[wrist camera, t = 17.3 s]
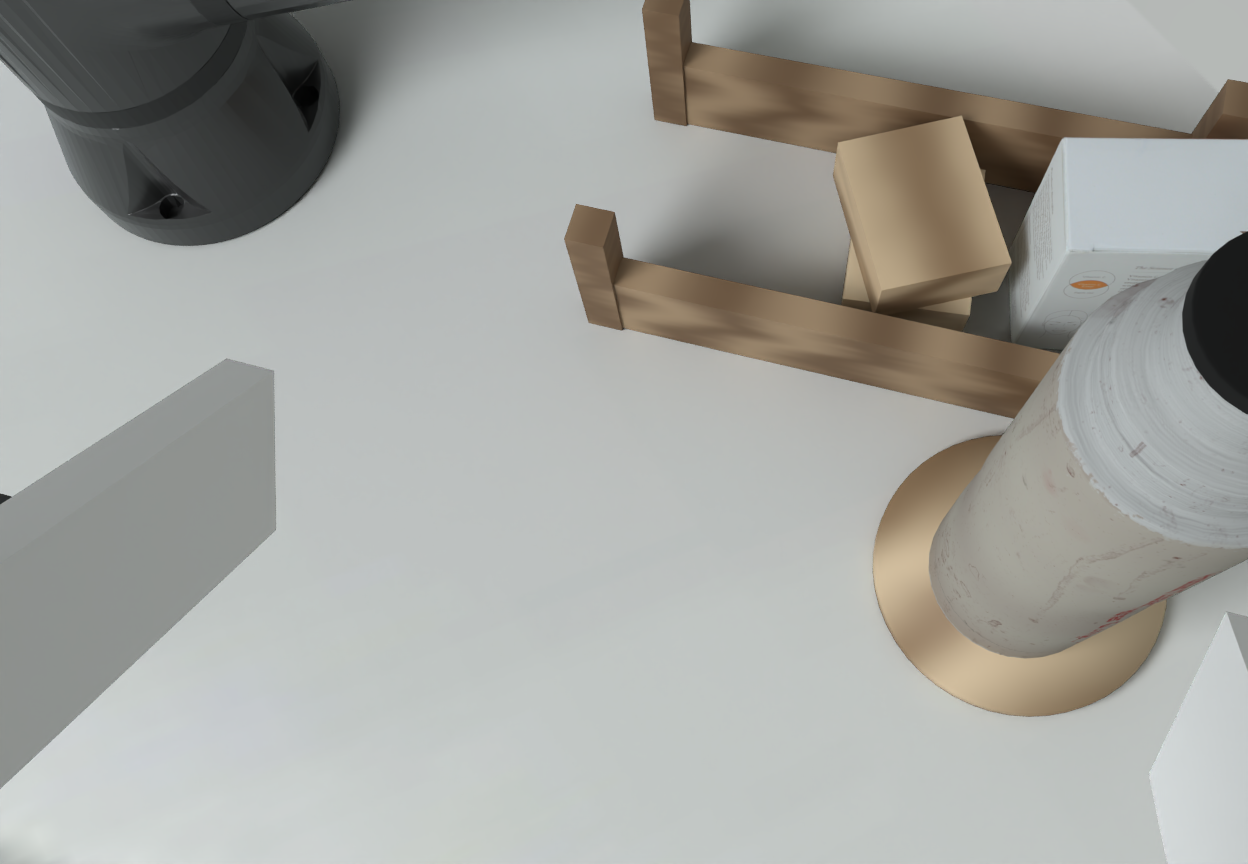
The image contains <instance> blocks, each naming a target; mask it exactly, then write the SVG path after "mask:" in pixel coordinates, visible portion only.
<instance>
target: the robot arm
mask: <svg viewBox="0 0 1248 864" xmlns="http://www.w3.org/2000/svg"><path fill="white" fill-rule="evenodd" d="M346 1H351V0H0V60H1V61H2V62H3V63H4V64H5V65H6V66H7V67H8V68H9V69H10V70H11V71H12V72H13V73H14V74H15V75H16V76H17V77H18V79H19V80H20V81H21V82H22V83H23V84H24V85H25V86H26V87H28V88H29V89H30V90H31V91H32V92H33V93H34V94H35V95H36V96H37V98H38V99H39V100H40V101H41V102H42V103H43V104H44V106H45V108H46V111H47V113H48V116H49V119H50V121H51V124H52V126H53V129H54V131H55V134H56V137H57V139H58V142H59V144H60V147H61V149H62V152H63V155H64V157H65V160H66V162H67V165H68V167H69V169H70V171H71V173H72V175H73V177H74V178H75V180H76V181H77V183H78V184H79V186H80V187H81V189H82V190H83V191H84V193H85V194H86V195H87V196H88V197H89V198H90V199H91V200H92V201H93V202H94V203H95V204H96V205H97V206H98V207H99V208H100V209H101V210H102V211H103V212H104V213H105V214H106V215H107V216H108V217H109V218H111V219H112V220H113V221H114V222H115V223H117V224H118V225H119V226H121V227H122V228H124V229H125V230H127V231H129V232H131V233H133V234H135V235H137V236H139V237H142V238H144V239H147V240H150V241H154V242H158V243H163V244H169V245H181V246H195V245H206V244H212V243H217V242H222V241H226V240H229V239H233V238H236V237H239V236H241V235H244V234H247V233H249V232H251V231H253V230H255V229H257V228H259V227H261V226H263V225H265V224H267V223H268V222H270V221H272V220H273V219H275V218H276V217H278V216H279V215H280V214H282V213H283V212H284V211H286V210H287V209H288V208H289V207H291V206H292V205H293V204H294V203H295V202H296V201H297V200H298V199H299V198H300V197H301V196H302V195H303V194H304V193H305V192H306V191H307V190H308V188H309V187H310V186H311V185H312V184H313V182H314V181H315V180H316V178H317V177H318V175H319V174H320V172H321V171H322V169H323V167H324V165H325V164H326V162H327V160H328V157H329V155H330V153H331V151H332V148H333V145H334V142H335V139H336V135H337V130H338V124H339V110H340V109H339V97H338V91H337V87H336V83H335V80H334V77H333V75H332V73H331V70H330V68H329V67H328V65H327V63H326V61H325V59H324V57H323V56H322V54H321V52H320V50H319V48H318V47H317V45H316V43H315V41H314V40H313V39H312V37H311V36H310V34H309V33H308V32H307V31H306V30H305V28H304V27H303V26H302V25H301V24H300V23H299V22H298V21H297V20H296V19H295V18H294V17H292V16H291V15H290V14H289V13H288V12H294V11H299V10H304V9H309V8H315V7H320V6H325V5H330V4H335V3H341V2H346ZM275 530H276V488H275V414H274V371H273V370H269V369H265V368H262V367H258V366H254V365H250V364H246V363H242V362H238V361H234V360H230V359H225V360H224V361H222V362H221V363H219V364H217V365H216V366H214V367H213V368H211V369H210V370H208V371H207V372H205V373H203V374H202V375H200V376H199V377H197V378H196V379H194V380H193V381H191V382H189V383H188V384H186V385H185V386H183V387H182V388H180V389H179V390H177V391H176V392H174V393H172V394H171V395H169V396H168V397H166V398H165V399H163V400H162V401H160V402H158V403H157V404H155V405H154V406H152V407H151V408H149V409H148V410H146V411H145V412H143V413H141V414H140V415H138V416H137V417H135V418H134V419H132V420H131V421H129V422H127V423H126V424H124V425H123V426H121V427H120V428H118V429H117V430H115V431H114V432H112V433H110V434H109V435H107V436H106V437H104V438H103V439H101V440H100V441H98V442H96V443H95V444H93V445H92V446H90V447H89V448H87V449H86V450H84V451H82V452H81V453H79V454H78V455H76V456H75V457H73V458H72V459H70V460H69V461H67V462H65V463H64V464H62V465H61V466H59V467H58V468H56V469H55V470H53V471H51V472H50V473H48V474H47V475H45V476H44V477H42V478H41V479H39V480H38V481H36V482H34V483H33V484H31V485H30V486H28V487H27V488H25V489H24V490H22V491H20V492H19V493H17V494H16V495H14V496H13V497H11V496H7V495H4V494H0V789H1V788H2V787H3V786H4V785H5V784H6V783H7V782H8V781H9V780H10V779H11V778H12V777H13V776H15V775H16V774H17V773H18V772H19V771H20V770H21V769H22V768H23V767H24V766H25V765H26V764H27V763H28V762H29V761H31V760H32V759H33V758H34V757H35V756H36V755H37V754H38V753H39V752H40V751H41V750H42V749H43V748H44V747H45V746H46V745H48V744H49V743H50V742H51V741H52V740H53V739H54V738H55V737H56V736H57V735H58V734H59V733H60V732H61V731H62V730H64V729H65V728H66V727H67V726H68V725H69V724H70V723H71V722H72V721H73V720H74V719H75V718H76V717H77V716H78V715H79V714H81V713H82V712H83V711H84V710H85V709H86V708H87V707H88V706H89V705H90V704H91V703H92V702H93V701H94V700H95V699H97V698H98V697H99V696H100V695H101V694H102V693H103V692H104V691H105V690H106V689H107V688H108V687H109V686H110V685H111V684H112V683H114V682H115V681H116V680H117V679H118V678H119V677H120V676H121V675H122V674H123V673H124V672H125V671H126V670H127V669H128V668H129V667H131V666H132V665H133V664H134V663H135V662H136V661H137V660H138V659H139V658H140V657H141V656H142V655H143V654H144V653H145V652H147V651H148V650H149V649H150V648H151V647H152V646H153V645H154V644H155V643H156V642H157V641H158V640H159V639H160V638H161V637H162V636H164V635H165V634H166V633H167V632H168V631H169V630H170V629H171V628H172V627H173V626H174V625H175V624H176V623H177V622H178V621H180V620H181V619H182V618H183V617H184V616H185V615H186V614H187V613H188V612H189V611H190V610H191V609H192V608H193V607H194V606H195V605H197V604H198V603H199V602H200V601H201V600H202V599H203V598H204V597H205V596H206V595H207V594H208V593H209V592H210V591H211V590H213V589H214V588H215V587H216V586H217V585H218V584H219V583H220V582H221V581H222V580H223V579H224V578H225V577H226V576H227V575H228V574H230V573H231V572H232V571H233V570H234V569H235V568H236V567H237V566H238V565H239V564H240V563H241V562H242V561H243V560H244V559H246V558H247V557H248V556H249V555H250V554H251V553H252V552H253V551H254V550H255V549H256V548H257V547H258V546H259V545H260V544H261V543H263V542H264V541H265V540H266V539H267V538H268V537H269V536H270V535H271V534H272V533H273V532H274V531H275ZM1149 778H1150V783H1151V788H1152V793H1153V797H1154V802H1155V807H1156V812H1157V817H1158V822H1159V827H1160V831H1161V836H1162V841H1163V846H1164V851H1165V856H1166V861H1167V864H1248V617H1246V616H1242V615H1238V614H1234V613H1230V612H1226V613H1225V615H1224V617H1223V619H1222V622H1221V624H1220V626H1219V628H1218V630H1217V632H1216V634H1215V636H1214V638H1213V640H1212V642H1211V645H1210V647H1209V649H1208V651H1207V653H1206V655H1205V657H1204V659H1203V661H1202V663H1201V666H1200V668H1199V670H1198V672H1197V674H1196V676H1195V678H1194V680H1193V682H1192V684H1191V686H1190V689H1189V691H1188V693H1187V695H1186V697H1185V699H1184V701H1183V703H1182V705H1181V707H1180V710H1179V712H1178V714H1177V716H1176V718H1175V720H1174V722H1173V724H1172V726H1171V728H1170V730H1169V733H1168V735H1167V737H1166V739H1165V741H1164V743H1163V745H1162V747H1161V749H1160V751H1159V754H1158V756H1157V758H1156V760H1155V762H1154V764H1153V766H1152V768H1151V770H1150V772H1149Z"/></svg>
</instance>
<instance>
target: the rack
mask: <svg viewBox="0 0 1248 864" xmlns="http://www.w3.org/2000/svg"><path fill="white" fill-rule="evenodd" d="M642 13H643V22H644V31H645V39H646V48H647V57H648V66H649V75H650V83H651V92H652V101H653V110H654V118H655V120H658V121H663V122H668V123H673V124H678V125H683V126H687V124H691V125H696V126H701V127H706V128H711V129H716V130H721V131H726V132H731V133H737V134H742V135H747V136H752V137H757V138H762V139H767V140H772V141H777V142H782V143H787V144H792V145H797V146H803V147H808V148H813V149H818V150H823V151H828V152H833V153H837V146H838V142H843V141H847V140H852V139H856V138H861V137H866V136H870V135H875V134H879V133H884V132H889V131H893V130H898V129H902V128H907V127H912V126H916V125H921V124H925V123H930V122H935V121H939V120H944V119H948V118H953V117H958V116H962V118H963V121H964V124H965V126H966V129H967V132H968V135H969V138H970V141H971V144H972V147H973V150H974V153H975V156H976V159H977V162H978V165H979V168H980V169H982V170H986V171H985V180H984V182H985V183H990V184H996V185H1001V186H1006V187H1011V188H1016V189H1021V190H1026V191H1031V192H1037V190H1038V188H1039V186H1040V184H1041V182H1042V180H1043V178H1044V176H1045V173H1046V171H1047V169H1048V167H1049V165H1050V163H1051V160H1052V158H1053V156H1054V154H1055V152H1056V150H1057V148H1058V146H1059V144H1060V142H1061V140H1062V139H1063V138H1064V137H1090V138H1177V139H1248V83H1246V82H1241V81H1235V80H1229V79H1228V80H1227V82H1226V83H1225V85H1224V86H1223V88H1222V89H1221V91H1220V92H1219V94H1218V95H1217V97H1216V98H1215V100H1214V101H1213V102H1212V104H1211V105H1210V107H1209V108H1208V110H1207V111H1206V113H1205V114H1204V116H1203V117H1202V119H1201V120H1200V122H1199V123H1198V125H1197V126H1196V128H1195V129H1194V131H1193V132H1192V134H1188V133H1183V132H1178V131H1172V130H1167V129H1161V128H1156V127H1150V126H1145V125H1139V124H1134V123H1129V122H1123V121H1118V120H1112V119H1107V118H1101V117H1096V116H1090V115H1085V114H1080V113H1074V112H1069V111H1063V110H1058V109H1052V108H1047V107H1042V106H1036V105H1031V104H1025V103H1020V102H1014V101H1009V100H1003V99H998V98H993V97H987V96H982V95H976V94H971V93H965V92H960V91H954V90H949V89H944V88H938V87H933V86H927V85H922V84H916V83H911V82H905V81H900V80H895V79H889V78H884V77H878V76H873V75H867V74H862V73H857V72H851V71H846V70H840V69H835V68H829V67H824V66H818V65H813V64H808V63H802V62H797V61H791V60H786V59H780V58H775V57H769V56H764V55H759V54H753V53H748V52H742V51H737V50H731V49H726V48H721V47H715V46H710V45H704V44H699V43H693V42H692V34H691V15H690V0H645V2H644V5H643V8H642ZM564 240H565V243H566V247H567V250H568V254H569V257H570V260H571V264H572V267H573V270H574V274H575V277H576V281H577V284H578V287H579V291H580V294H581V298H582V301H583V304H584V308H585V311H586V315H587V318H588V321H589V323H592V324H596V325H601V326H605V327H609V328H614V329H618V330H623V328H626V329H630V330H634V331H638V332H643V333H647V334H651V335H656V336H660V337H664V338H669V339H673V340H677V341H682V342H686V343H690V344H695V345H699V346H703V347H708V348H712V349H716V350H720V351H725V352H729V353H733V354H738V355H742V356H746V357H751V358H755V359H759V360H764V361H768V362H772V363H777V364H781V365H785V366H789V367H794V368H798V369H802V370H807V371H811V372H815V373H820V374H824V375H828V376H833V377H837V378H841V379H846V380H850V381H854V382H858V383H863V384H867V385H871V386H876V387H880V388H884V389H889V390H893V391H897V392H902V393H906V394H910V395H915V396H919V397H923V398H928V399H932V400H936V401H940V402H945V403H949V404H953V405H958V406H962V407H966V408H971V409H975V410H979V411H984V412H988V413H992V414H997V415H1001V416H1005V417H1009V418H1014V419H1015V417H1016V416H1017V414H1018V413H1019V412H1020V410H1021V409H1022V407H1023V406H1024V404H1025V403H1026V402H1027V400H1028V399H1029V397H1030V396H1031V395H1032V393H1033V392H1034V390H1035V389H1036V388H1037V386H1038V385H1039V383H1040V382H1041V381H1042V379H1043V378H1044V376H1045V375H1046V374H1047V372H1048V371H1049V369H1050V368H1051V366H1052V365H1053V364H1054V362H1055V361H1056V359H1057V358H1058V357H1059V355H1060V354H1059V353H1055V352H1050V351H1046V350H1041V349H1036V348H1032V347H1027V346H1023V345H1018V344H1014V343H1009V342H1005V341H1000V340H996V339H991V338H987V337H982V336H977V335H973V334H968V333H964V332H959V331H955V330H950V329H946V328H941V327H937V326H932V325H928V324H923V323H919V322H914V321H909V320H905V319H900V318H896V317H891V316H887V315H882V314H878V313H873V312H869V311H864V310H860V309H855V308H850V307H846V306H841V305H837V304H832V303H828V302H823V301H819V300H814V299H810V298H805V297H801V296H796V295H791V294H787V293H782V292H778V291H773V290H769V289H764V288H760V287H755V286H751V285H746V284H742V283H737V282H733V281H728V280H723V279H719V278H714V277H710V276H705V275H701V274H696V273H692V272H687V271H683V270H678V269H674V268H669V267H664V266H660V265H655V264H651V263H646V262H642V261H637V260H633V259H628V258H624V257H623V252H622V247H621V242H620V237H619V232H618V227H617V222H616V216H615V212H612V211H607V210H602V209H597V208H593V207H588V206H583V205H579V204H576V206H575V209H574V212H573V215H572V218H571V221H570V223H569V226H568V229H567V232H566V235H565V238H564Z"/></svg>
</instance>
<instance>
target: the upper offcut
mask: <svg viewBox="0 0 1248 864" xmlns="http://www.w3.org/2000/svg"><path fill="white" fill-rule="evenodd" d="M833 177H834V181H835V184H836V188H837V191H838V195H839V198H840V202H841V205H842V209H843V212H844V215H845V219H846V222H847V226H848V229H849V233H850V236H851V240H852V243H853V247H854V250H855V253H856V257H857V260H858V264H859V267H860V271H861V274H862V278H863V281H864V285H865V288H866V291H867V295H868V298H869V302H870V305H871V309H872V312H873V313H878V314H882V315H889V314H893V313H898V312H903V311H907V310H912V309H917V308H921V307H926V306H931V305H935V304H940V303H945V302H949V301H954V300H959V299H963V298H968V297H973V296H978V295H983V294H987V293H992V292H997V291H998V289H999V287H1000V285H1001V283H1002V281H1003V279H1004V277H1005V275H1006V273H1007V271H1008V269H1009V267H1010V265H1011V264H1012V262H1011V259H1010V256H1009V253H1008V250H1007V247H1006V244H1005V241H1004V238H1003V235H1002V232H1001V229H1000V226H999V223H998V221H997V218H996V215H995V212H994V209H993V206H992V203H991V200H990V197H989V194H988V191H987V188H986V185H985V182H984V179H983V176H982V173H981V171H980V168H979V165H978V162H977V159H976V156H975V153H974V150H973V147H972V144H971V141H970V138H969V135H968V132H967V129H966V126H965V124H964V121H963V118H962V116H958V117H953V118H948V119H944V120H939V121H935V122H930V123H925V124H921V125H916V126H912V127H907V128H902V129H898V130H893V131H889V132H884V133H879V134H875V135H870V136H866V137H861V138H856V139H852V140H847V141H843V142H838V146H837V153H836V159H835V166H834V172H833Z"/></svg>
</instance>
